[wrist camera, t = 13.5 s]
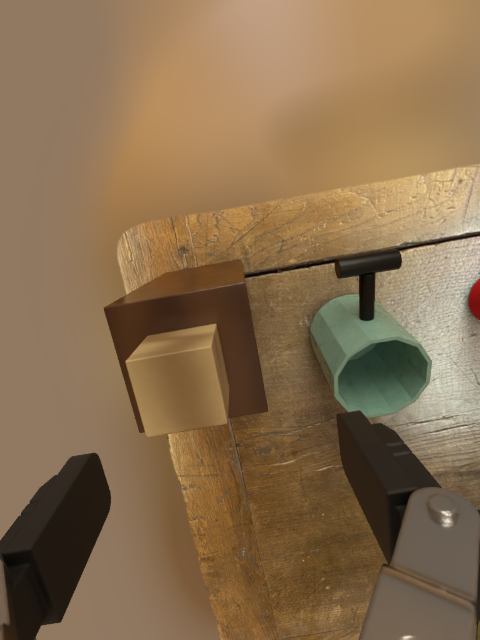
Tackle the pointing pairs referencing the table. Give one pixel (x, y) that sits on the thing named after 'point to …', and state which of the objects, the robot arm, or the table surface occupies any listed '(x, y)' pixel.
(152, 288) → the block
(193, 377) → the block
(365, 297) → the mug
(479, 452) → the table surface
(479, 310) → the beverage can
